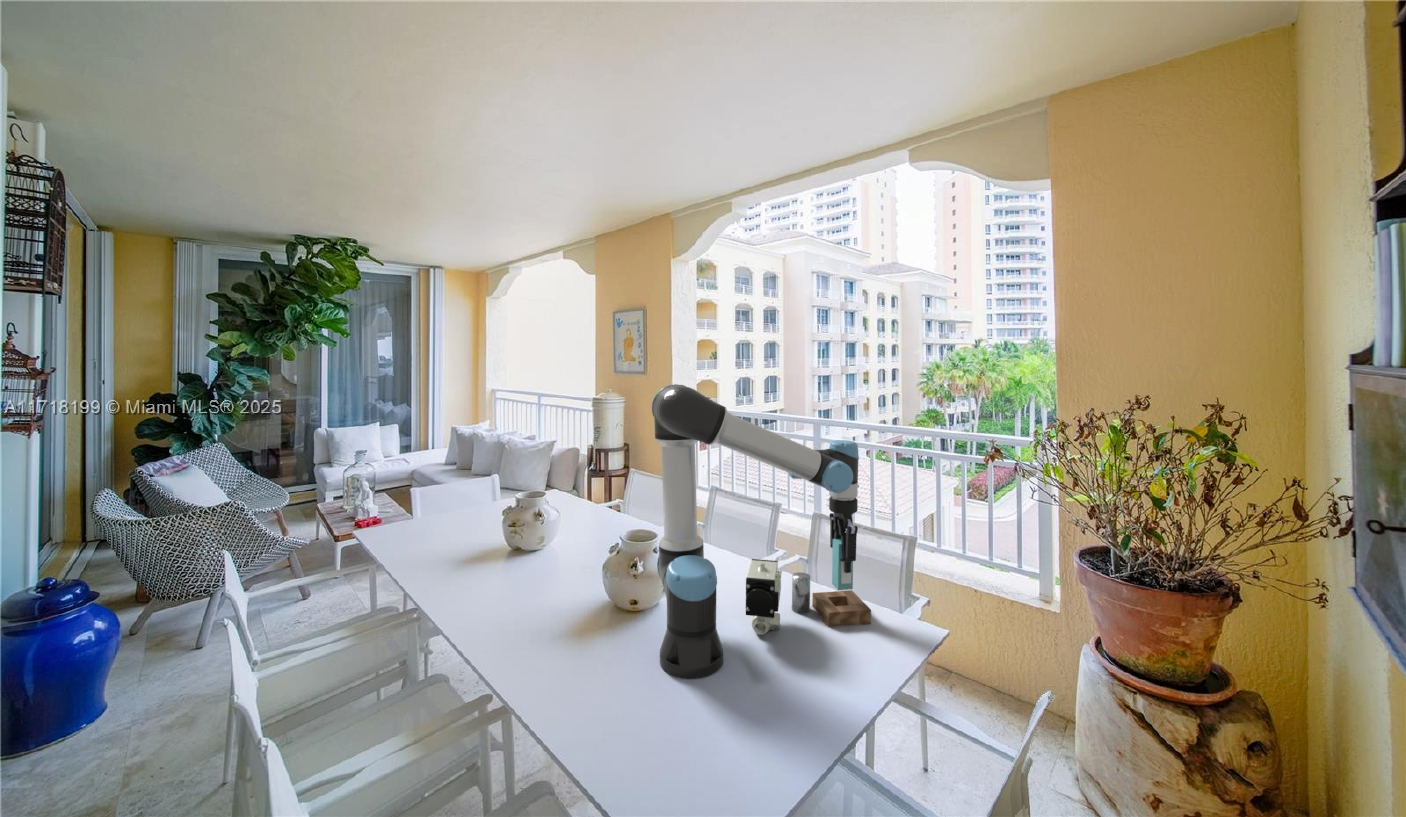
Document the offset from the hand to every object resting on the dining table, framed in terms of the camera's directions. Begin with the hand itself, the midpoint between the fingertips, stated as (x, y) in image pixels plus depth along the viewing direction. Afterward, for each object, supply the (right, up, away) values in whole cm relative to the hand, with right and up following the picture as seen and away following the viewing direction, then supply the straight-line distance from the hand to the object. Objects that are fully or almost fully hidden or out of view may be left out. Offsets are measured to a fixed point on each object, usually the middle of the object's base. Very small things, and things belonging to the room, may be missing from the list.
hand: (842, 578), depth 144 cm
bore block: (0, -10, +1) cm, 10 cm away
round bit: (-11, -10, +4) cm, 15 cm away
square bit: (0, -2, 0) cm, 2 cm away
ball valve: (-22, -11, -6) cm, 26 cm away
